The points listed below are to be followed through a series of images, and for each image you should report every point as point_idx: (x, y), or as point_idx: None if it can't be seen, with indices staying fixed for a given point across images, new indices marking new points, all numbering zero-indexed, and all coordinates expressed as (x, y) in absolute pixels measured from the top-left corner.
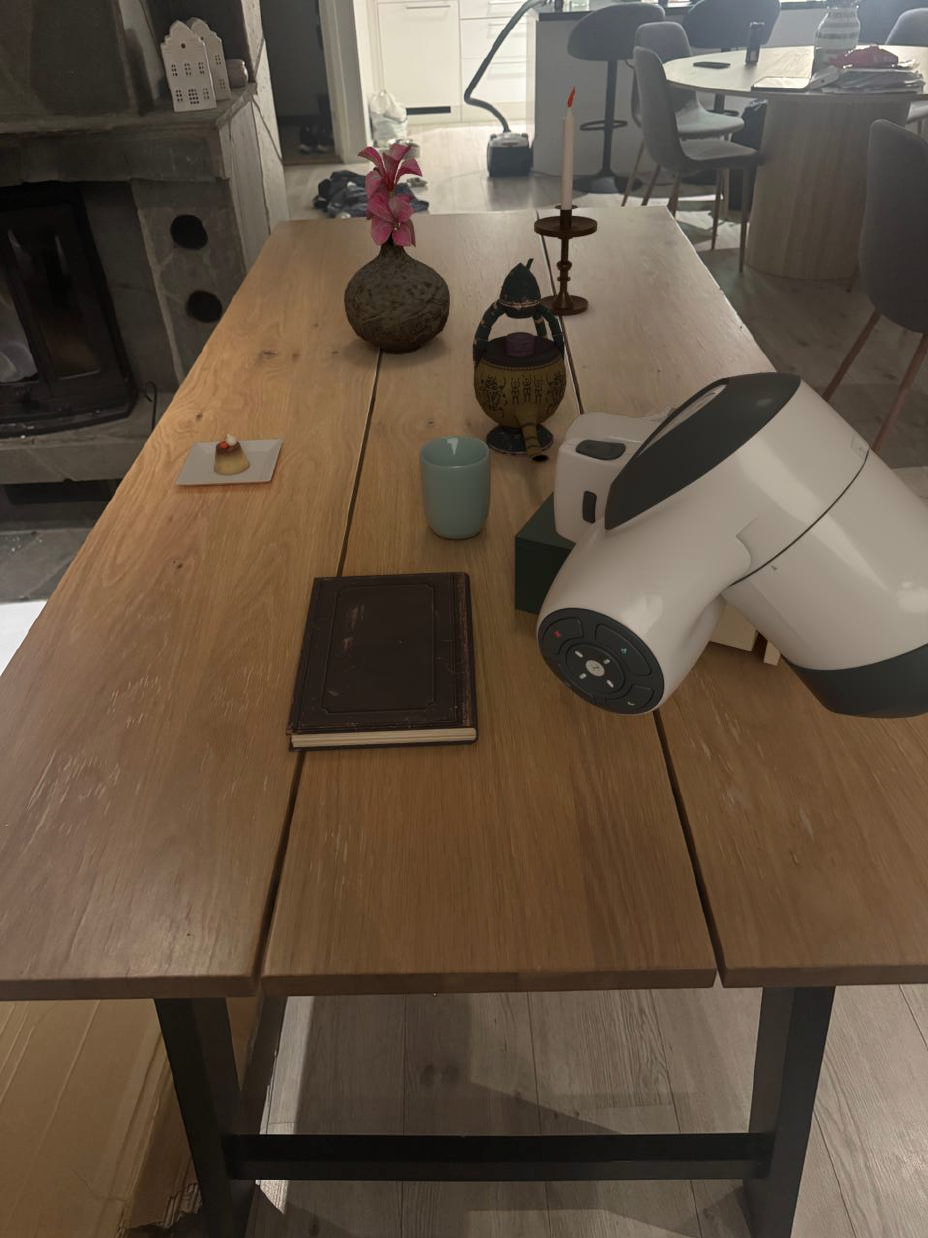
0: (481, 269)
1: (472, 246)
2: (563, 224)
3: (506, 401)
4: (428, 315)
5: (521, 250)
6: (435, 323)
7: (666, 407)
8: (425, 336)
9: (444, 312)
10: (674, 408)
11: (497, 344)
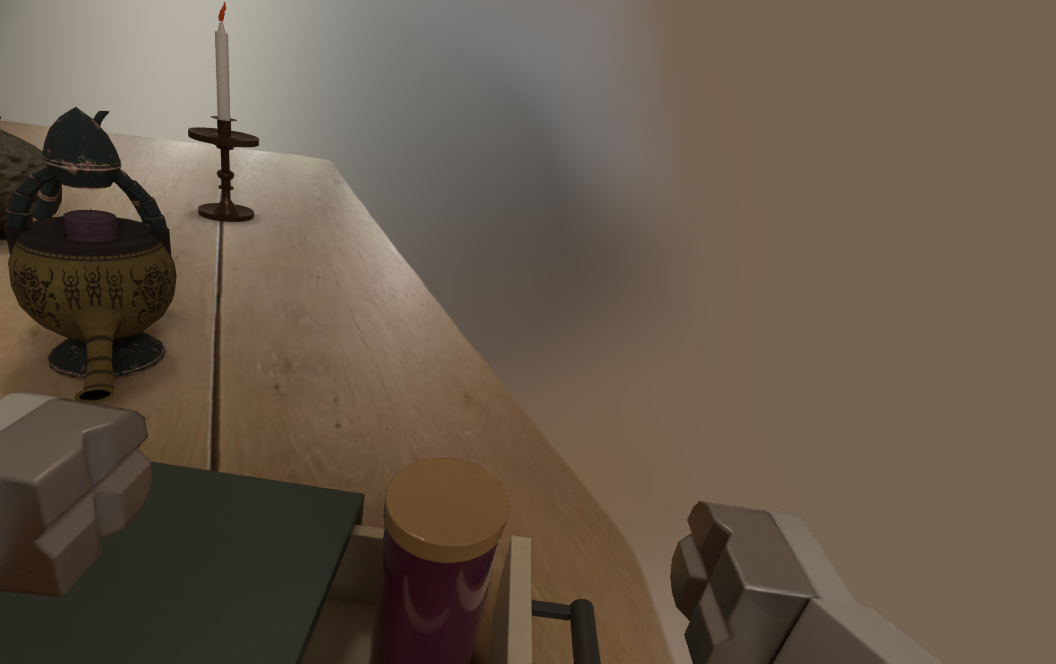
0: (147, 176)
1: (147, 159)
2: (221, 134)
3: (58, 304)
4: None
5: (198, 168)
6: (30, 207)
7: (6, 400)
8: None
9: None
10: (58, 406)
11: (57, 224)
